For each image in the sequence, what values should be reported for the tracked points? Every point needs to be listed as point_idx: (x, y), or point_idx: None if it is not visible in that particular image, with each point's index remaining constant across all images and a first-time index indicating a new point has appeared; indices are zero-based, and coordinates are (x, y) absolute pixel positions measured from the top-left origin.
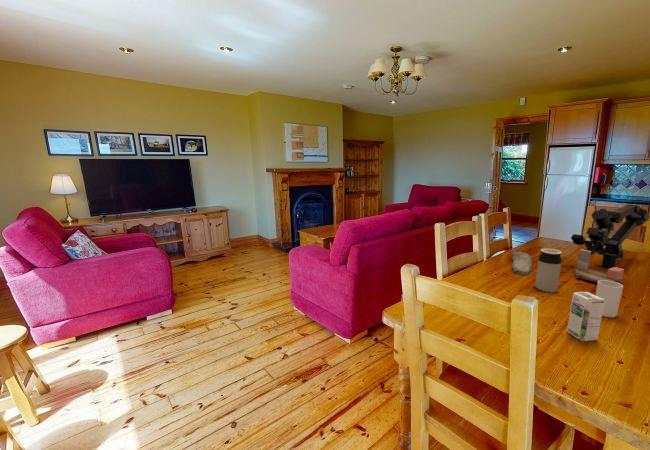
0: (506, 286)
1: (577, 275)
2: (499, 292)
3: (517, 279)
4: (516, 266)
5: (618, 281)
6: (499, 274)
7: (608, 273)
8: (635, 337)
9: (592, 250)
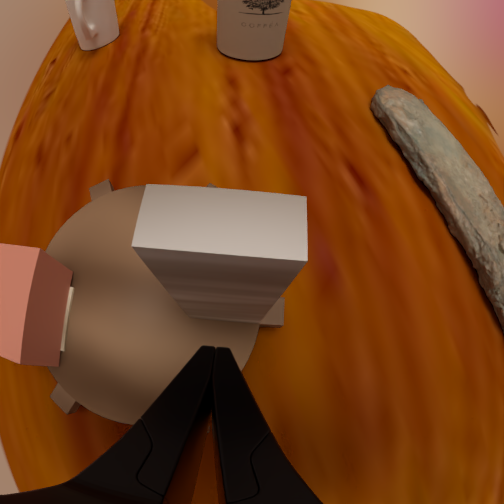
0: (319, 23)
1: (211, 185)
2: (300, 4)
3: (349, 63)
4: (430, 115)
5: None
6: (402, 75)
7: (51, 261)
8: (70, 25)
9: (153, 413)
